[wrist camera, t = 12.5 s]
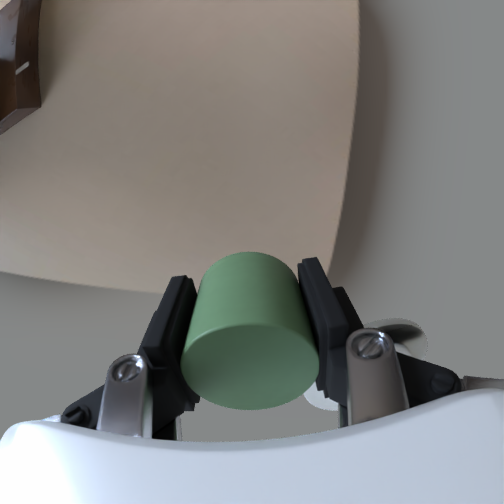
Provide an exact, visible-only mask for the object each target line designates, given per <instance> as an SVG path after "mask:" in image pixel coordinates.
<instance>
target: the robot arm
mask: <svg viewBox="0 0 504 504" xmlns="http://www.w3.org/2000/svg"><path fill="white" fill-rule="evenodd" d="M298 279H299V287H300V290H301V293H302V297H303V300H304V304H305V307H306V310H307V314H308V317H309V321H310V324H311V328H312V331H313V335H314V338H315V342H316V345H317V349H318V352H319V374H318V377H317V378H316V380H315V382H316V387H317V391H323V393H324V397H325V398H328V399H329V400H330V401H332V402H333V403H335V404H338V429H334V430H329V431H324V432H318V433H313V434H307V435H301V436H294V437H285V438H277V439H268V440H256V441H238V442H189V441H182V432H181V418H180V415H181V414H182V413H184V411H194V407H195V403H199V401H200V396H199V395H198V394H196V393H195V392H194V391H193V390H192V389H191V388H190V387H189V386H188V384H187V383H186V381H185V379H184V377H183V375H182V372H181V367H180V361H181V356H182V352H183V348H184V344H185V340H186V336H187V332H188V328H189V324H190V320H191V316H192V312H193V309H194V305H195V301H196V297H197V293H196V289H195V286H194V283H193V280H192V278H188V277H187V276H186V275H183V276H175V277H172V278H171V280H170V282H169V284H168V287H167V289H166V291H165V293H164V296H163V298H162V300H161V302H160V305H159V307H158V309H157V311H155V313H154V314H153V317H152V319H151V321H150V324H149V326H148V328H147V331H146V333H145V335H144V338H143V341H142V343H141V345H140V348H139V350H138V353H137V354H127V355H123V356H121V357H119V358H118V359H116V360H115V361H114V362H113V363H112V364H111V366H110V367H109V370H108V373H107V377H106V382H105V384H104V385H103V386H101V387H99V388H98V389H96V390H94V391H93V392H91V393H89V394H88V395H86V396H84V397H83V398H81V399H79V400H77V401H76V402H74V403H72V404H71V405H70V406H68V407H67V408H66V409H65V411H64V412H63V415H60V414H57V415H55V416H52V417H49V418H46V419H43V420H40V421H36V420H35V421H27V422H21V423H17V424H15V425H13V426H11V427H10V428H9V429H8V430H7V431H6V432H5V434H4V435H3V437H2V439H1V441H0V504H504V379H493V378H481V377H471V376H464V377H463V379H459V377H458V376H457V375H456V374H455V373H454V372H453V371H451V370H449V369H447V368H444V367H441V366H438V365H435V364H432V363H429V362H426V361H423V360H420V359H417V358H414V357H412V354H411V352H410V351H409V349H408V348H407V347H406V346H405V345H403V344H400V343H394V342H393V340H392V338H391V337H390V336H389V335H388V334H387V333H386V332H384V331H382V330H380V329H376V328H364V326H363V324H362V323H361V321H360V319H359V317H358V315H357V313H356V311H355V309H354V307H353V305H352V303H351V301H350V299H349V297H348V295H347V293H346V292H345V290H344V288H343V287H336V288H332V287H331V285H330V283H329V281H328V279H327V277H326V275H325V272H324V270H323V268H322V266H321V264H320V262H319V260H318V258H317V257H314V258H307V259H302V263H298Z"/></svg>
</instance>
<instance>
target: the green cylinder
mask: <svg viewBox="0 0 504 504" xmlns="http://www.w3.org/2000/svg"><path fill="white" fill-rule="evenodd" d="M180 367H181V372H182V375H183V377H184V379H185V381H186V383H187V384H188V386H189V387H190V388H191V389H192V390H193V391H194V392H195V393H196V394H198V395H199V396H201V397H202V398H204V399H206V400H208V401H210V402H212V403H214V404H217V405H220V406H224V407H227V408H232V409H240V410H259V409H267V408H272V407H276V406H279V405H283V404H285V403H288V402H290V401H292V400H294V399H296V398H297V397H299V396H301V395H302V394H303V393H305V392H306V391H307V390H308V389H309V388H310V387H311V386H312V385H313V383H314V382H315V380H316V378H317V377H318V374H319V352H318V349H317V345H316V342H315V338H314V335H313V331H312V328H311V324H310V321H309V317H308V314H307V310H306V307H305V304H304V300H303V297H302V293H301V290H300V287H299V283H298V280H297V278H296V276H295V274H294V273H293V272H292V270H291V269H290V268H289V267H288V266H287V265H286V264H285V263H283V262H282V261H280V260H279V259H277V258H275V257H273V256H270V255H267V254H264V253H258V252H240V253H235V254H232V255H229V256H226V257H224V258H222V259H220V260H219V261H217V262H216V263H214V264H213V265H212V266H211V267H210V268H209V269H208V270H207V271H206V273H205V274H204V276H203V278H202V280H201V283H200V286H199V290H198V294H197V297H196V301H195V305H194V309H193V312H192V316H191V320H190V324H189V328H188V332H187V336H186V340H185V344H184V348H183V352H182V356H181V361H180Z"/></svg>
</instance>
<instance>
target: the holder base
mask: <svg viewBox="0 0 504 504" xmlns="http://www.w3.org/2000/svg"><path fill="white" fill-rule="evenodd" d="M40 4H41V0H11V1H10V2H9V3H8V4H7V5H6V6H5V7H3V8H2V9H1V10H0V135H1V134H3V133H4V132H5V131H7V130H8V129H9V128H11V127H12V126H13V125H15V124H16V123H18V122H19V121H21V120H22V119H23V118H25V117H26V116H28V115H29V114H31V113H33V112H34V111H36V110H37V109H39V108H41V101H40V91H39V77H38V27H39V14H40Z"/></svg>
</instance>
